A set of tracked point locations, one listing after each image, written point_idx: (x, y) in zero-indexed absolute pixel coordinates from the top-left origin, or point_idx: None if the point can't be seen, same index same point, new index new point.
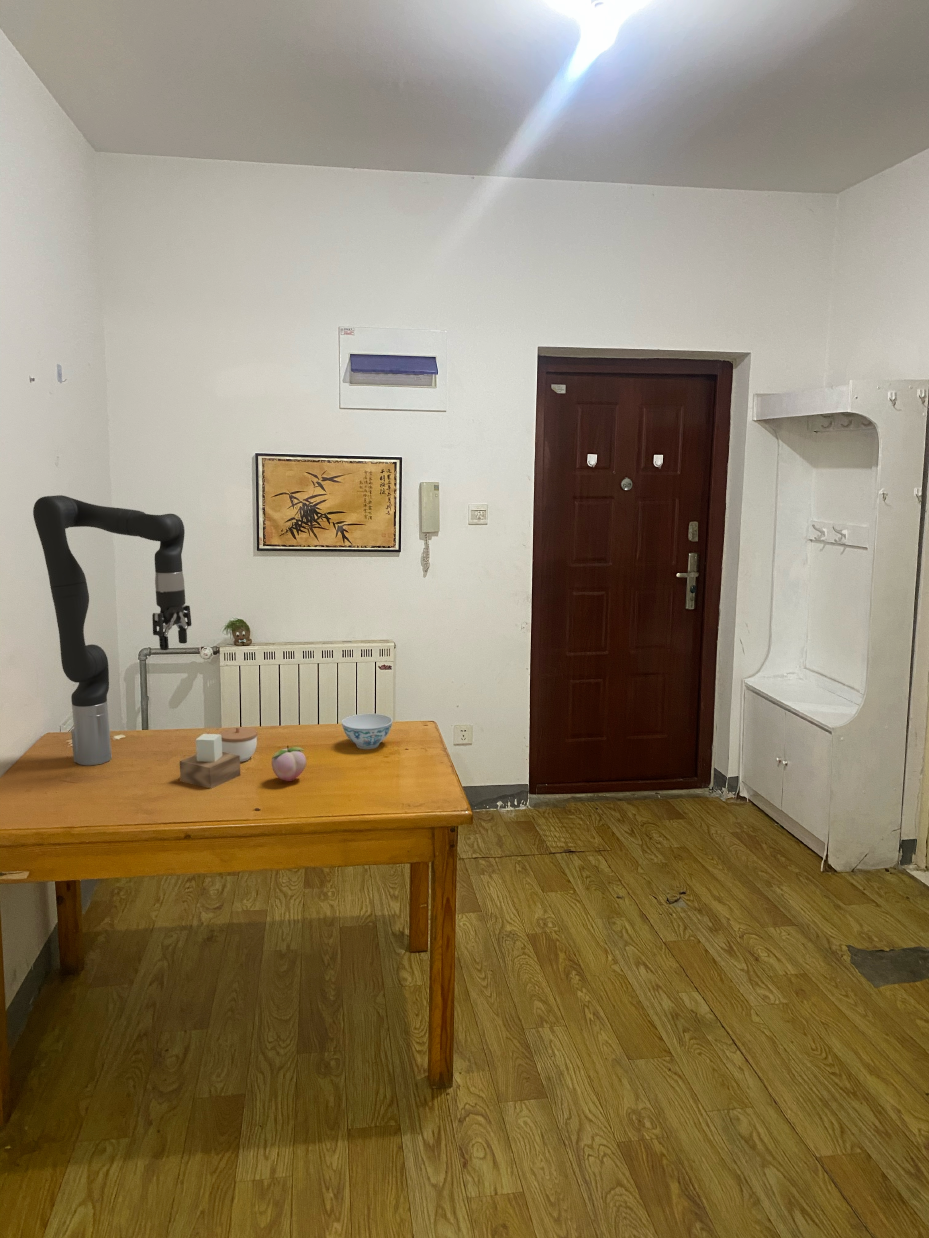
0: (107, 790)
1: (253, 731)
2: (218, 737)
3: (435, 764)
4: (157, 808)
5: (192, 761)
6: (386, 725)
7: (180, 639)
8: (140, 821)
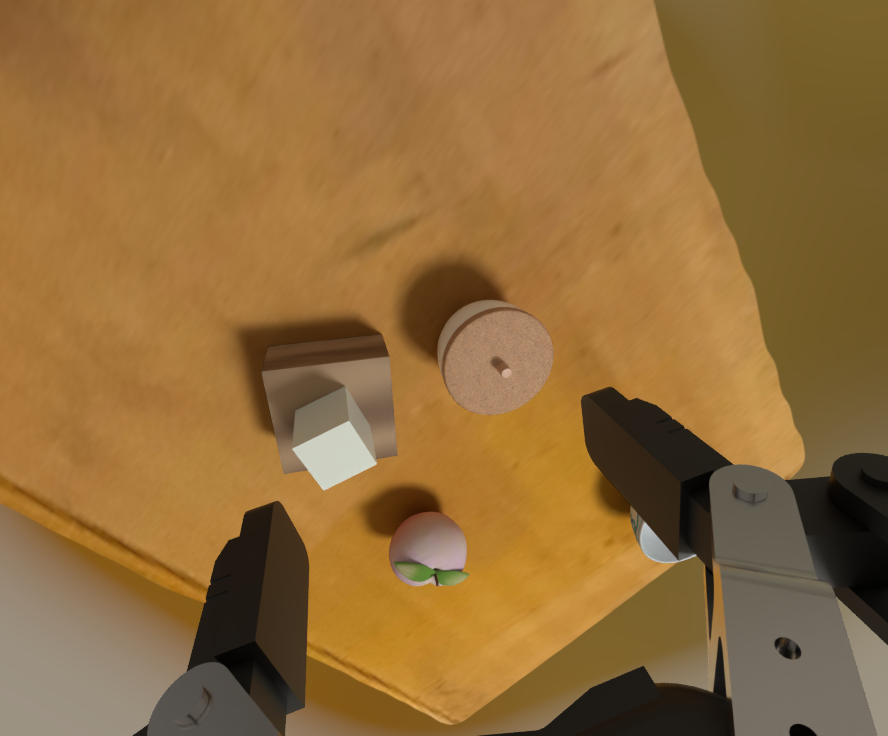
0: (54, 227)
1: (527, 393)
2: (356, 472)
3: (602, 609)
4: (112, 448)
5: (284, 403)
6: (674, 561)
7: (604, 430)
8: (34, 481)
